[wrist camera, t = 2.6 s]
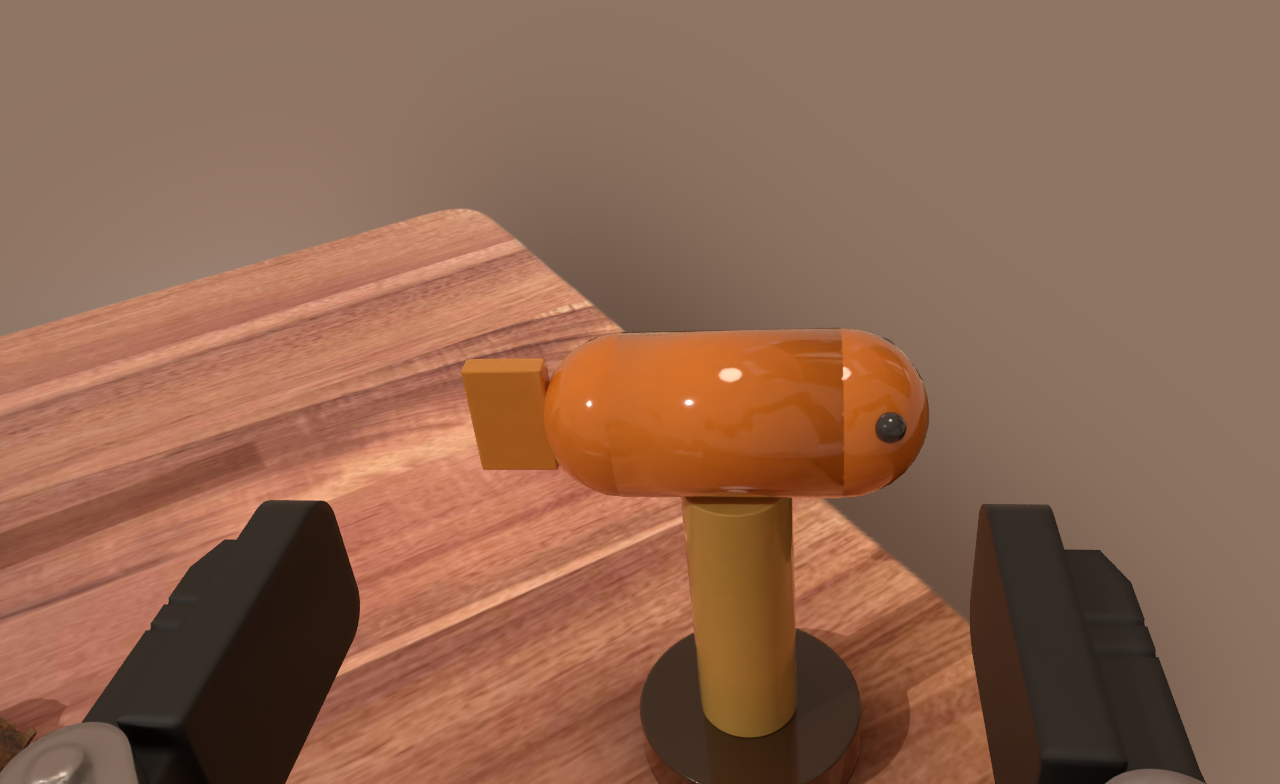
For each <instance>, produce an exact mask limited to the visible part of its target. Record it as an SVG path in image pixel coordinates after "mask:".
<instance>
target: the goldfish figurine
mask: <svg viewBox="0 0 1280 784" xmlns="http://www.w3.org/2000/svg"><path fill="white" fill-rule="evenodd" d="M461 374H462V379H463V383H464V388H465V392H466V397H467V401H468V405H469V410H470V414H471V419H472V423H473V428H474V432H475V437H476V441H477V446H478V450H479V455H480V459H481V464H482V468H483V469H484V470H556V469H558V467H559V465H560V466H561V467H562V469H563V470H564V471H565V472H566V473H567V474H568V475H570V476H571V477H572V478H573V479H574V480H575V481H576V482H578V483H579V484H581V485H583V486H585V487H587V488H588V489H590V490H593V491H596V492H599V493H602V494H605V495H613V496H622V497H681V505H682V516H683V526H684V536H685V546H686V556H687V566H688V576H689V586H690V597H691V607H692V617H693V627H694V633H692V634H690V635H688V636H687V637H685V638H683V639H681V640H680V641H678V642H677V643H676V644H674V645H673V646H672V647H670V648H669V649H668V650H667V651H666V652H665V653H664V654H663V655H662V656H661V657H660V658H659V660H658V661H657V662H656V663H655V665H654V666H653V668H652V669H651V671H650V673H649V674H648V677H647V679H646V681H645V684H644V686H643V690H642V694H641V700H640V716H641V725H642V732H643V738H644V745H645V751H646V755H647V759H648V762H649V765H650V767H651V769H652V772H653V773H654V775H655V777H656V778H657V780H658V782H659V783H660V784H846V782H847V781H848V779H849V777H850V776H851V774H852V772H853V770H854V768H855V765H856V762H857V760H858V755H859V750H860V730H861V701H860V694H859V691H858V687H857V684H856V681H855V679H854V677H853V675H852V673H851V671H850V670H849V668H848V667H847V666H846V664H845V663H844V661H843V660H842V659H841V658H840V657H839V656H838V655H837V653H836V652H835V651H833V650H832V649H831V648H830V647H829V646H827V645H826V644H825V643H823V642H822V641H820V640H819V639H817V638H816V637H814V636H812V635H810V634H808V633H806V632H804V631H802V630H799V629H796V622H795V584H794V545H793V507H792V498H844V497H854V496H861V495H865V494H868V493H872V492H875V491H878V490H879V489H881V488H883V487H885V486H887V485H889V484H891V483H892V482H894V481H895V480H896V479H897V478H899V477H900V476H901V475H902V474H903V473H905V472H906V470H907V469H908V468H909V467H910V465H911V464H912V463H913V462H914V461H915V459H916V457H917V455H918V453H919V452H920V450H921V448H922V446H923V444H924V440H925V437H926V433H927V429H928V424H929V404H928V397H927V393H926V390H925V387H924V383H923V380H922V378H921V377H920V375H919V373H918V371H917V369H916V368H915V366H914V364H913V363H912V362H911V361H910V360H909V359H908V357H907V356H906V355H905V354H904V353H903V352H902V351H901V350H899V349H898V348H897V347H896V346H895V344H894V343H893V342H892V341H891V340H890V339H888V338H886V337H879V336H877V335H875V334H872V333H869V332H865V331H862V330H858V329H846V328H812V329H764V330H763V329H762V330H761V329H760V330H715V331H714V330H713V331H669V332H668V331H666V332H665V331H663V332H622V333H615V334H607V335H603V336H600V337H597V338H594V339H591V340H589V341H587V342H585V343H584V344H582V345H580V346H578V347H577V348H575V349H574V350H573V351H572V352H571V353H570V354H569V355H567V356H566V357H565V358H564V359H563V361H562V362H561V363H560V364H559V366H558V367H557V369H556V370H555V371H554V373H553V375H552V377H551V379H550V381H549V377H548V371H547V365H546V360H545V359H544V358H518V359H468V360H466V362H465V364H464V366H463V368H462V371H461Z"/></svg>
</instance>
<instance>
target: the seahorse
mask: <svg viewBox="0 0 1280 784" xmlns="http://www.w3.org/2000/svg"><path fill="white" fill-rule="evenodd" d="M36 734H37V732H36V731H35V730H34V728H33V727H32V728H31V729H30V730H29V731H27V732H24V733H21V732H18V731H16V730H15V724H12V723H9V722H7V721H6V720H5V719H3V718H2V717H1V716H0V773H1V771H2V770H3V769H4V768H5V766H6V765H7V764H8V763H9V762H10V761H11V760H12V759H13V758H14V757H15V756H16V755H17V754H18V753H20V752H21V751H22V750H23V749H25V748H26V747H27V746H29V744H30V741H32V739H33V738H34V737H35V735H36Z"/></svg>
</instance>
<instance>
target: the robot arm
mask: <svg viewBox="0 0 1280 784" xmlns="http://www.w3.org/2000/svg"><path fill="white" fill-rule="evenodd" d="M359 614H360V598H359V591H358V587H357V584H356V581H355V577H354V574H353V571H352V568H351V565H350V562H349V558H348V555H347V552H346V549H345V546H344V543H343V539H342V536H341V533H340V530H339V527H338V524H337V520H336V517H335V514H334V512H333V510H332V508H331V506H330V505H329V504H328V503H327V502H325V501H296V500H269V501H265V502H263V503H262V504H261V505H260V506H259V507H258V509H257V510H256V511H255V513H254V514H253V516H252V517H251V519H250V520H249V522H248V523H247V525H246V526H245V528H244V529H243V531H242V532H241V534H240V535H239V537H238V538H237V540H224V541H222V542H221V543H220V544H219V545H217V546H216V547H215V548H214V549H212V550H211V551H210V552H209V553H207V554H206V555H205V556H204V557H202V558H201V559H200V560H199V561H197V562H196V563H195V564H193V565H192V566H191V567H190V568H189V570H188V571H187V573H186V574H185V575H184V577H183V578H182V580H181V581H180V583H179V584H178V585H177V587H176V588H175V590H174V591H173V593H172V594H171V595H170V597H169V603H168V605H163V607H162V608H161V610H160V611H159V613H158V614H157V615H156V617H155V618H154V620H153V621H152V623H151V629H150V631H149V630H146V631H145V633H144V634H143V636H142V637H141V638H140V640H139V641H138V643H137V644H136V646H135V647H134V648H133V650H132V651H131V653H130V654H129V656H128V657H127V658H126V660H125V661H124V663H123V664H122V666H121V667H120V668H119V670H118V671H117V673H116V674H115V676H114V677H113V678H112V680H111V681H110V683H109V684H108V686H107V687H106V688H105V690H104V691H103V693H102V694H101V696H100V697H99V698H98V700H97V701H96V703H95V704H94V706H93V707H92V708H91V710H90V711H89V713H88V714H87V716H86V717H85V718H84V720H83V721H82V723H78V724H74V725H70V726H66V727H63V728H61V729H58V730H55V731H53V732H51V733H49V734H47V735H45V736H43V737H41V738H40V739H38V740H36V741H35V742H33V743H31V744H30V745H29V746H27V747H26V748H25V749H23V750H22V751H21V752H20V753H18V754H17V755H16V756H15V757H14V758H13V759H12V760H11V761H10V762H9V763H8V764H7V765H6V766H5V768H4V769H3V770H2V771H1V773H0V784H285V783H286V781H287V779H288V777H289V774H290V772H291V770H292V768H293V766H294V764H295V762H296V760H297V758H298V755H299V753H300V751H301V749H302V747H303V745H304V743H305V741H306V739H307V736H308V734H309V732H310V730H311V728H312V726H313V724H314V722H315V720H316V717H317V715H318V713H319V711H320V709H321V707H322V705H323V703H324V701H325V698H326V696H327V694H328V692H329V690H330V688H331V686H332V684H333V682H334V680H335V677H336V675H337V673H338V671H339V669H340V667H341V665H342V663H343V661H344V658H345V656H346V654H347V652H348V650H349V648H350V646H351V644H352V642H353V639H354V637H355V634H356V631H357V627H358V622H359ZM970 634H971V646H972V654H973V660H974V665H975V671H976V677H977V683H978V688H979V694H980V700H981V705H982V711H983V717H984V723H985V728H986V734H987V740H988V745H989V751H990V757H991V763H992V768H993V774H994V780H995V784H1206V782H1205V780H1204V778H1203V776H1202V774H1201V772H1200V769H1199V767H1198V764H1197V761H1196V759H1195V756H1194V753H1193V750H1192V748H1191V745H1190V742H1189V739H1188V737H1187V734H1186V731H1185V729H1184V726H1183V723H1182V720H1181V718H1180V715H1179V712H1178V709H1177V707H1176V704H1175V701H1174V699H1173V696H1172V693H1171V690H1170V688H1169V685H1168V682H1167V679H1166V677H1165V674H1164V671H1163V669H1162V666H1161V663H1160V661H1159V658H1158V657H1156V655H1155V647H1154V644H1153V641H1152V639H1151V636H1150V633H1149V630H1148V628H1147V627H1145V625H1144V617H1143V614H1142V611H1141V608H1140V606H1139V603H1138V600H1137V598H1136V595H1135V592H1134V589H1133V587H1132V584H1131V582H1130V581H1129V580H1128V579H1127V578H1126V577H1125V576H1124V575H1123V574H1122V573H1121V572H1120V571H1119V570H1118V569H1117V568H1116V566H1115V565H1114V564H1113V563H1112V562H1111V561H1110V560H1109V559H1108V558H1107V557H1106V556H1104V554H1103V553H1102V552H1101V551H1100V550H1064V547H1063V544H1062V541H1061V537H1060V534H1059V531H1058V527H1057V524H1056V521H1055V517H1054V514H1053V511H1052V509H1051V508H1050V506H1049V505H1018V504H1017V505H1016V504H1012V505H1011V504H1009V505H1008V504H983V505H982V506H981V509H980V513H979V520H978V531H977V541H976V550H975V560H974V569H973V579H972V589H971V601H970Z"/></svg>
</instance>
